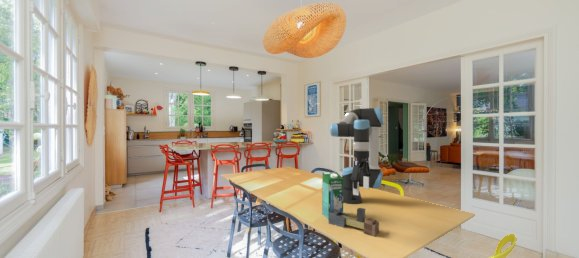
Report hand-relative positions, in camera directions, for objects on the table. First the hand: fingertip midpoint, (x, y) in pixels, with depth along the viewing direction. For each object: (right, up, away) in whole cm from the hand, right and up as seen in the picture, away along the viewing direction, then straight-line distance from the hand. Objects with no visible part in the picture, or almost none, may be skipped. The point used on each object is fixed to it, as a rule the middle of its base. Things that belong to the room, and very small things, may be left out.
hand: (361, 191), depth 121 cm
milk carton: (-12, -19, +17) cm, 28 cm away
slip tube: (-2, -18, +1) cm, 18 cm away
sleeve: (-10, -19, +7) cm, 23 cm away
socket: (+4, -19, -4) cm, 20 cm away
